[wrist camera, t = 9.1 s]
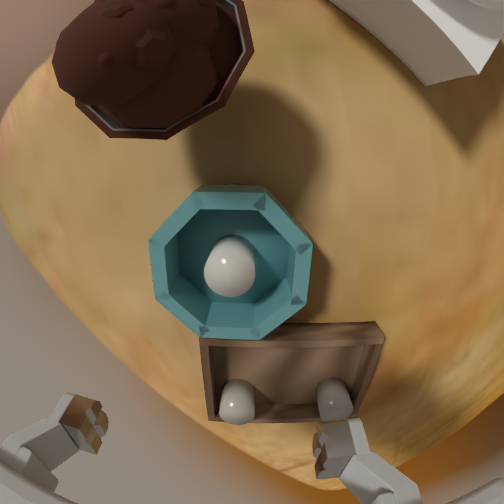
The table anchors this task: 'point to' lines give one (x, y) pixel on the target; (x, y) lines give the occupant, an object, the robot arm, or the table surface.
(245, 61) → the ice cream bowl
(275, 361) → the tray
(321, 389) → the pebble
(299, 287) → the bowl
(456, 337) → the table surface
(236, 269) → the pebble
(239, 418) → the pebble
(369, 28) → the butter dish
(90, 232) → the table surface
